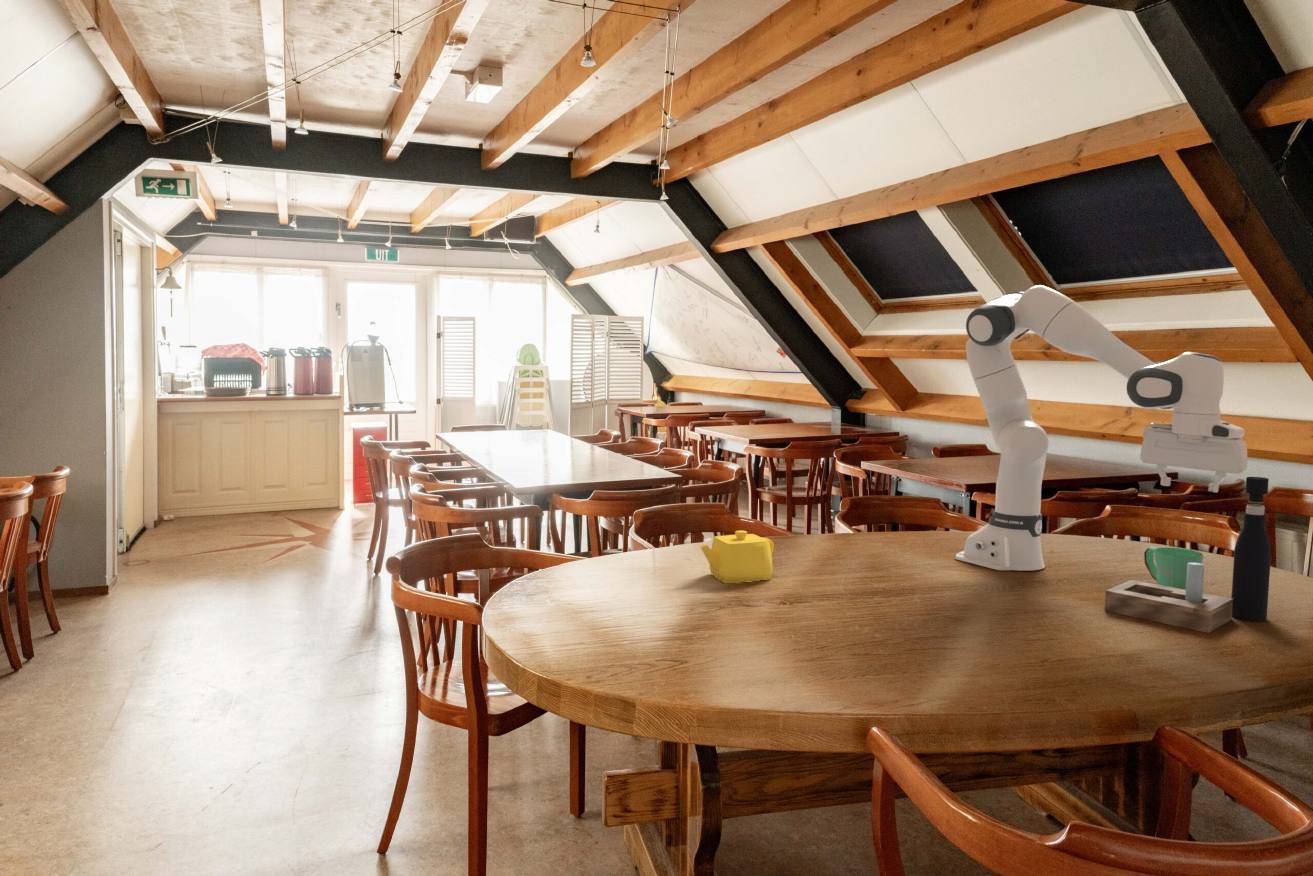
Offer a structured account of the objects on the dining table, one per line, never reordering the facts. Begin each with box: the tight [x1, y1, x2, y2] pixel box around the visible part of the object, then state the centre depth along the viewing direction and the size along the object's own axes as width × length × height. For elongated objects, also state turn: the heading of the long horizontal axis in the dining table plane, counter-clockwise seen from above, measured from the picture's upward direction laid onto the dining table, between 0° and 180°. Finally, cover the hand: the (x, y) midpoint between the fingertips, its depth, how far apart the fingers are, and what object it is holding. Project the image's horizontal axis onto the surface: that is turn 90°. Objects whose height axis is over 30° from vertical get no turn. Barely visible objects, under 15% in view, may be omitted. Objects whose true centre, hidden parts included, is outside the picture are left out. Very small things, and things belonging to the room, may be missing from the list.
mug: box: [1143, 545, 1204, 590], centre depth 201 cm, size 15×10×10 cm
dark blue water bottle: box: [1230, 476, 1272, 623], centre depth 180 cm, size 6×6×30 cm
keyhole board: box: [1104, 579, 1233, 634], centre depth 182 cm, size 20×14×4 cm
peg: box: [1185, 563, 1205, 604], centre depth 179 cm, size 6×6×12 cm
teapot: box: [699, 530, 775, 584], centre depth 214 cm, size 20×12×12 cm, turn 109°
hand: (1188, 488), depth 188 cm, fingers open, 8 cm apart
